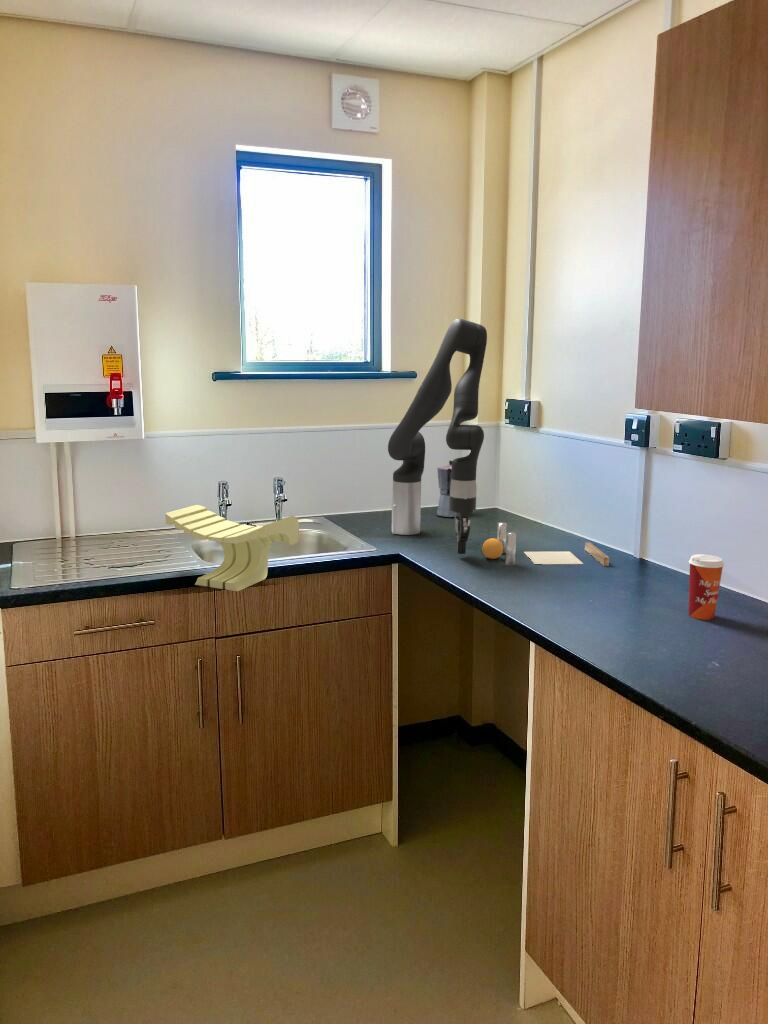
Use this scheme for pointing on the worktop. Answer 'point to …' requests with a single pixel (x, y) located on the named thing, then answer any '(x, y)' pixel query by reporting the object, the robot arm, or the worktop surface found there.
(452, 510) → the robot arm
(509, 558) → the post
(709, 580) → the paper cup
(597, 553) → the wooden stick
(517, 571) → the worktop surface
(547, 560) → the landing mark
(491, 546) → the ball
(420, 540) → the worktop surface
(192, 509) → the slatted curved stool
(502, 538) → the post
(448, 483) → the moka pot
